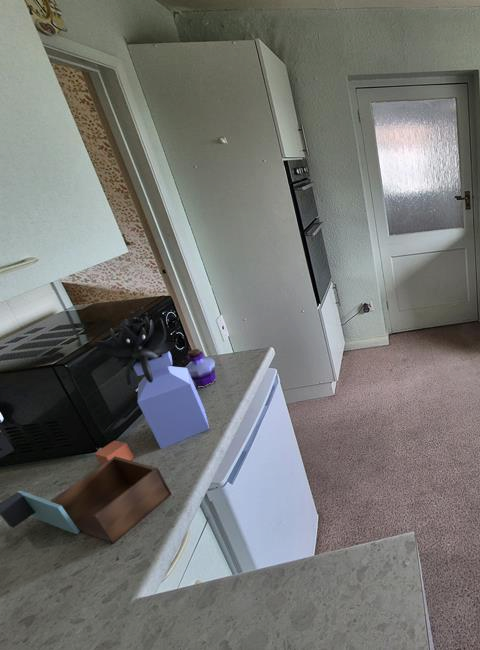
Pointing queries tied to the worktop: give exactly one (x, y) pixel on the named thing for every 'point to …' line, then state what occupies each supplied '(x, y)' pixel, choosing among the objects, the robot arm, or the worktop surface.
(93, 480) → the crate
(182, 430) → the vase
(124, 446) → the block
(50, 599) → the worktop surface
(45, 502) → the light blue flat panel
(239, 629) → the worktop surface
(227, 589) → the worktop surface
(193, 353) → the potion bottle
